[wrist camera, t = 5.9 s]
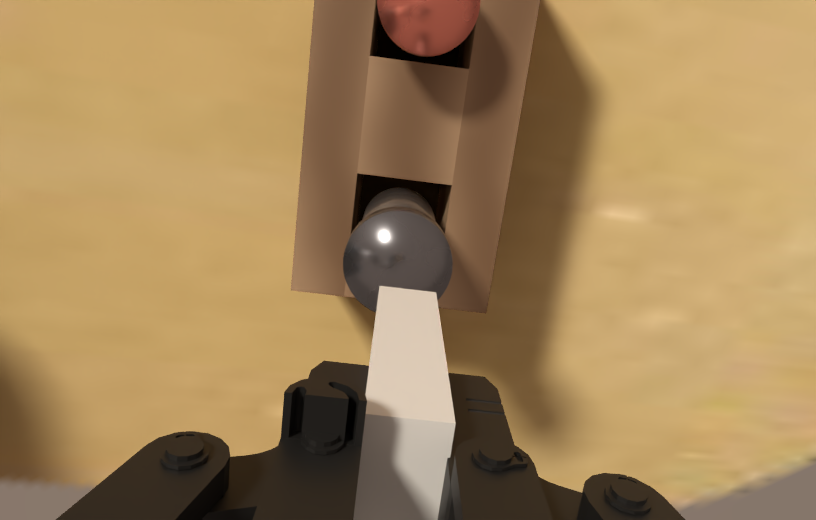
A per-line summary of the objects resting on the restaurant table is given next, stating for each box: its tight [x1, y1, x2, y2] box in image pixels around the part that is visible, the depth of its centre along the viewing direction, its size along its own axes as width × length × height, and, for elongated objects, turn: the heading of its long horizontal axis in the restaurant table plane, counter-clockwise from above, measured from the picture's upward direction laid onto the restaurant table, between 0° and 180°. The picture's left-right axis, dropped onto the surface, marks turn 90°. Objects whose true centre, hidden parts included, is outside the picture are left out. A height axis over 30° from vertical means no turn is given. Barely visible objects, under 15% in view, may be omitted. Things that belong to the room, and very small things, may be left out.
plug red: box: [377, 0, 481, 57], centre depth 29 cm, size 4×4×8 cm
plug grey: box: [343, 188, 453, 312], centre depth 27 cm, size 4×4×8 cm
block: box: [291, 0, 540, 313], centre depth 32 cm, size 10×18×7 cm, turn 173°
